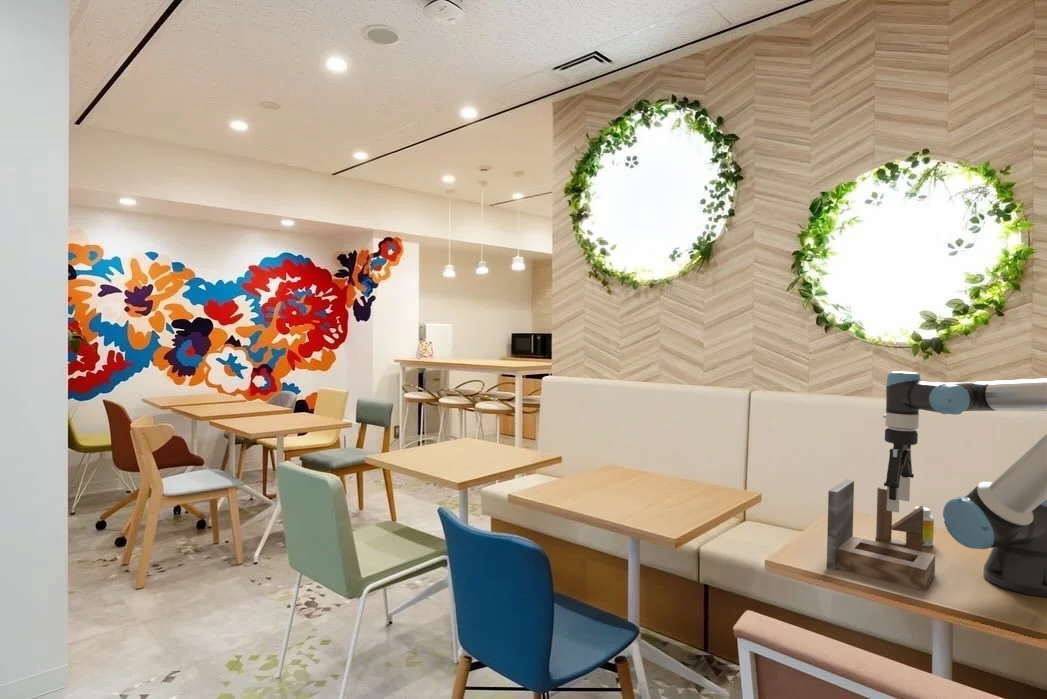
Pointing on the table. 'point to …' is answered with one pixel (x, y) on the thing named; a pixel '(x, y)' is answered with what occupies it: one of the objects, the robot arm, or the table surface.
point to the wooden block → (898, 524)
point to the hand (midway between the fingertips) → (898, 505)
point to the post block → (870, 547)
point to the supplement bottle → (927, 527)
